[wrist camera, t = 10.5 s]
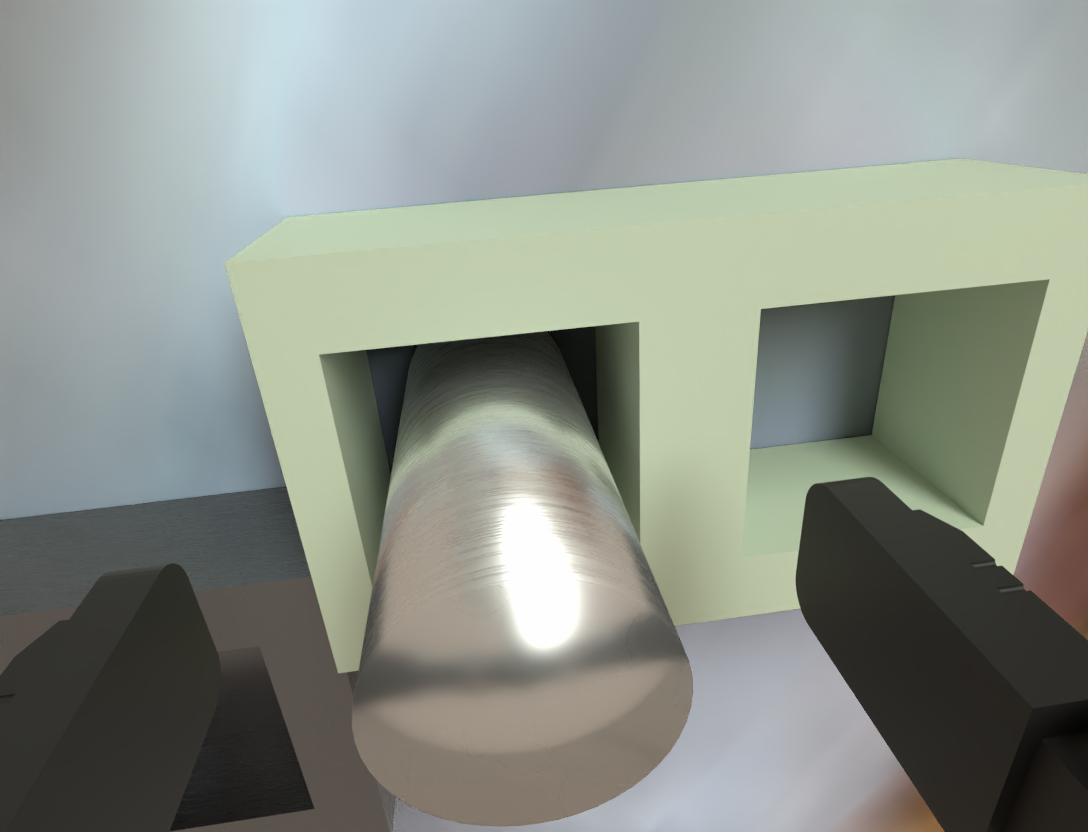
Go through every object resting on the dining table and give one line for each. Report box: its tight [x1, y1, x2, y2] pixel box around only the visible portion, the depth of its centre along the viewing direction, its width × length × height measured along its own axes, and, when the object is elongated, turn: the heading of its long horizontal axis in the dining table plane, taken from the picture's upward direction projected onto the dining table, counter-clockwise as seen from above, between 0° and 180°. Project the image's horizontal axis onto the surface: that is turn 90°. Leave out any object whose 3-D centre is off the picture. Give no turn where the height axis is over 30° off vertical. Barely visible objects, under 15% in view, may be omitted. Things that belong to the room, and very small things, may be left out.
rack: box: [225, 158, 1088, 673], centre depth 14 cm, size 8×14×4 cm, turn 94°
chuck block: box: [0, 487, 395, 832], centre depth 16 cm, size 8×8×4 cm
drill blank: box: [352, 331, 693, 826], centre depth 11 cm, size 4×4×9 cm
